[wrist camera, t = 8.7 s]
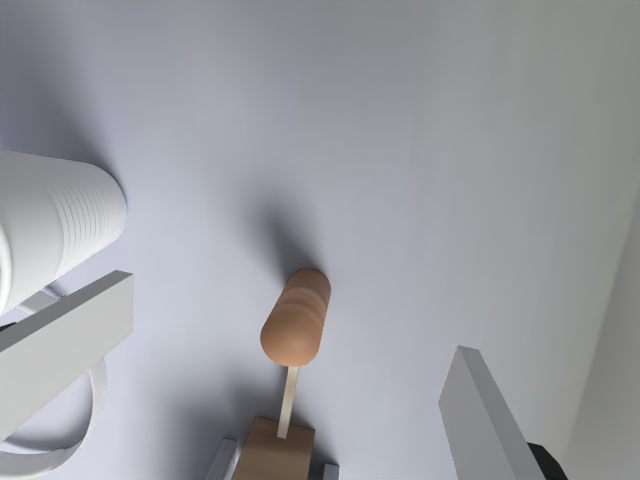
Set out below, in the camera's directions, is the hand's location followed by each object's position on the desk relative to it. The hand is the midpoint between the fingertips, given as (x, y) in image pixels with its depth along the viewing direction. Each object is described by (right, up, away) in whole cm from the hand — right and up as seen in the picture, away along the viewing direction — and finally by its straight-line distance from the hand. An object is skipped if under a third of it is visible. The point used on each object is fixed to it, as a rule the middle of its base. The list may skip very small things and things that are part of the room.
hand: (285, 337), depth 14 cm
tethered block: (-1, -7, +14) cm, 15 cm away
